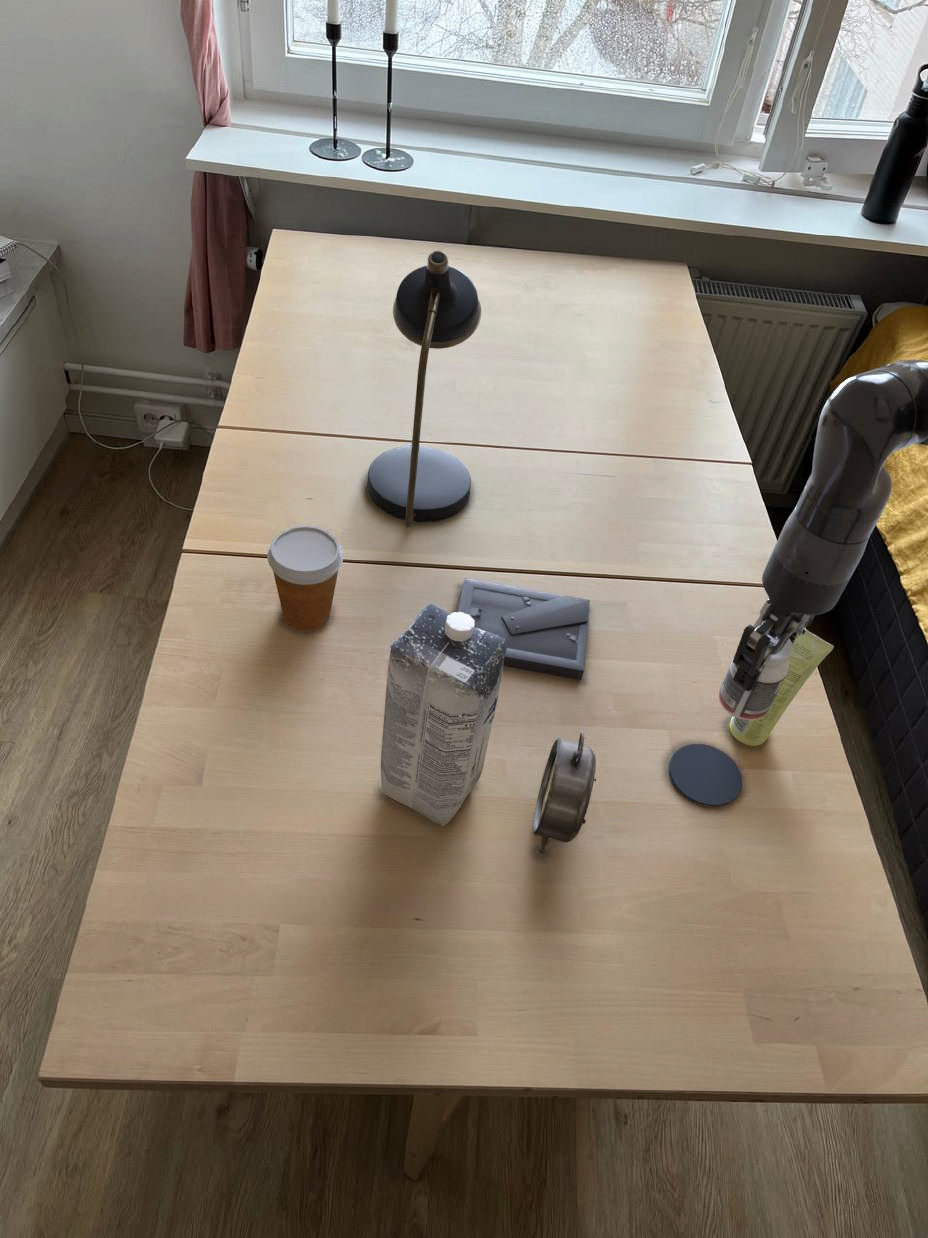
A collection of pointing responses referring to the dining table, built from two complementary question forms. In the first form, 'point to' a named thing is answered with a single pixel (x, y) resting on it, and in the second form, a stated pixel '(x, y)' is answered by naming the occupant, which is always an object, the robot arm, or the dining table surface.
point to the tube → (784, 688)
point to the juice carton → (439, 711)
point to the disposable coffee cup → (305, 574)
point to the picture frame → (531, 626)
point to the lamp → (418, 475)
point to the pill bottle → (756, 687)
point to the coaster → (705, 775)
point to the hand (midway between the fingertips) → (758, 670)
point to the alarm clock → (564, 791)
